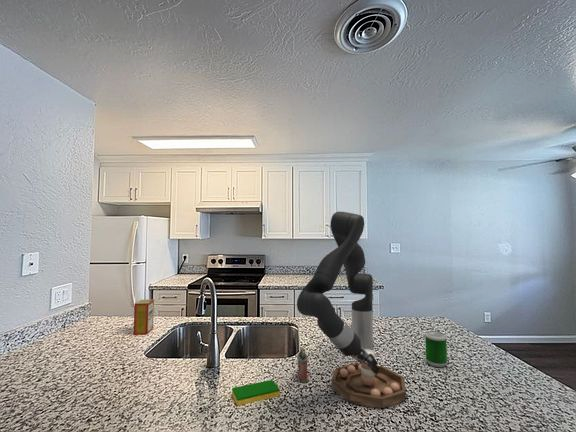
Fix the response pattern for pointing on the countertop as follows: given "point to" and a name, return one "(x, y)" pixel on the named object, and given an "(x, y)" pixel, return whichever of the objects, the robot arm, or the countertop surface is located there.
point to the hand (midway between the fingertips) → (372, 368)
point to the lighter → (302, 366)
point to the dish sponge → (255, 392)
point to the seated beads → (374, 392)
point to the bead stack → (367, 372)
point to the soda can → (436, 348)
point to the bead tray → (368, 388)
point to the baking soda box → (143, 317)
